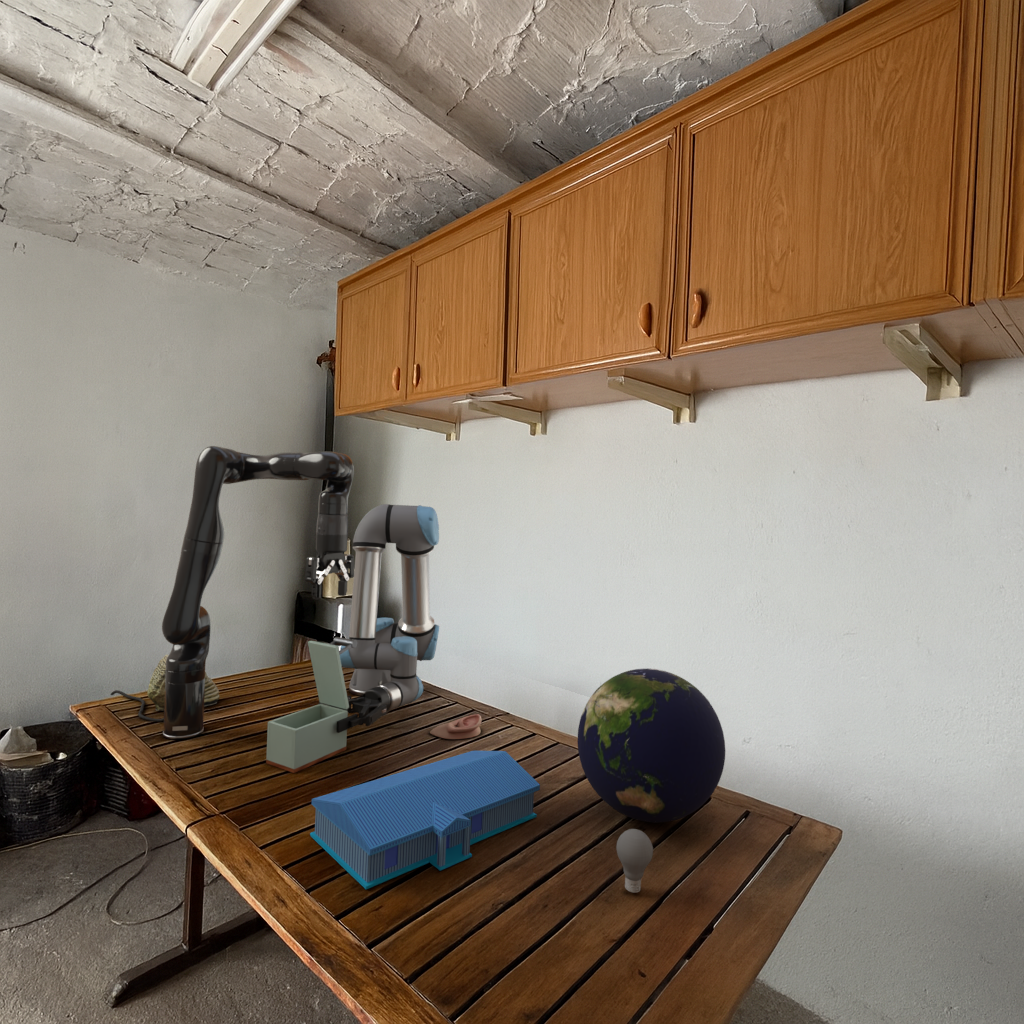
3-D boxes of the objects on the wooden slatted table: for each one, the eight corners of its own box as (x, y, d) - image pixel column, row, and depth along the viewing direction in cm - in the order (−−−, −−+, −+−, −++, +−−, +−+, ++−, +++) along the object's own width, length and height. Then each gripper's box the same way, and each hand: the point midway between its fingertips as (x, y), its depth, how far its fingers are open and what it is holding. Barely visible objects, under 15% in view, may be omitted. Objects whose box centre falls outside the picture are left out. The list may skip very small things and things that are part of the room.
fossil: (144, 707, 182) (145, 655, 182) (212, 696, 194) (213, 647, 194) (151, 716, 175) (153, 662, 175) (221, 703, 188) (223, 653, 188)
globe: (555, 830, 124) (562, 678, 123) (594, 772, 152) (600, 647, 151) (715, 870, 113) (723, 702, 112) (726, 799, 140) (732, 664, 140)
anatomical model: (426, 721, 169) (440, 708, 180) (425, 736, 169) (439, 722, 181) (474, 727, 167) (485, 713, 178) (473, 742, 167) (484, 727, 178)
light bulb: (610, 879, 108) (613, 822, 108) (644, 879, 109) (647, 822, 109) (619, 902, 102) (622, 840, 102) (655, 901, 103) (658, 840, 103)
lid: (334, 647, 154) (359, 632, 161) (307, 642, 158) (332, 627, 166) (346, 709, 158) (369, 691, 166) (319, 702, 163) (343, 685, 170)
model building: (376, 899, 100) (378, 836, 100) (308, 834, 119) (310, 781, 118) (548, 822, 127) (550, 773, 127) (472, 779, 145) (474, 735, 145)
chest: (294, 773, 144) (295, 730, 144) (266, 763, 149) (267, 721, 149) (346, 749, 159) (347, 710, 159) (319, 741, 164) (320, 703, 163)
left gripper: (321, 534, 150) (319, 602, 150) (363, 532, 162) (360, 595, 162) (299, 532, 153) (296, 599, 153) (341, 531, 166) (339, 592, 166)
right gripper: (412, 721, 171) (355, 747, 152) (349, 705, 182) (288, 727, 163) (414, 694, 171) (356, 716, 152) (350, 679, 182) (289, 698, 163)
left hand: (329, 597), depth 158 cm, fingers open, 8 cm apart
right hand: (321, 722), depth 157 cm, fingers open, 10 cm apart
